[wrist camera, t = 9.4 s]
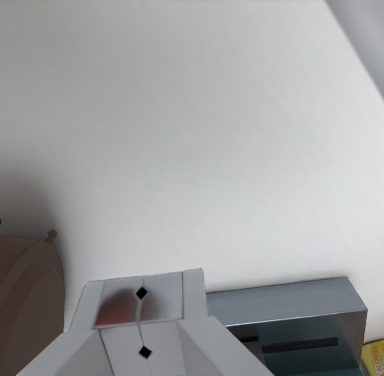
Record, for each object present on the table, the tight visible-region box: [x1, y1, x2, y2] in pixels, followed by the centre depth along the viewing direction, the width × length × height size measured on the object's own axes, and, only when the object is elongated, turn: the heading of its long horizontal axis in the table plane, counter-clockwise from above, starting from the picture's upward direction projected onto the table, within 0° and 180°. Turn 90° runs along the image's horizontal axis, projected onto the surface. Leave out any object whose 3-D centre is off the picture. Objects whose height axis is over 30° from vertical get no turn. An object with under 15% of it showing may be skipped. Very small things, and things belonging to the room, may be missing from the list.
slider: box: [242, 341, 266, 367], centre depth 25 cm, size 2×3×3 cm
